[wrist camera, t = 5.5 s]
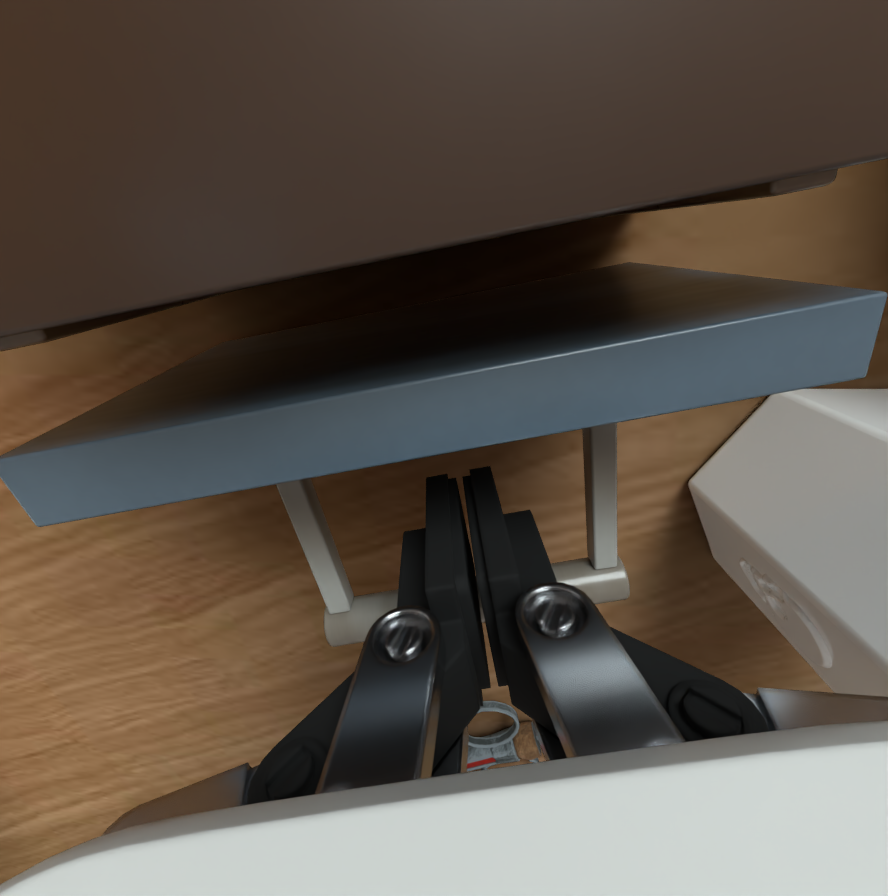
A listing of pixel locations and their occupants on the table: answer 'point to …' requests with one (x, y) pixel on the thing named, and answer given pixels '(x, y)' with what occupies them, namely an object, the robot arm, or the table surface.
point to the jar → (809, 526)
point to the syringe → (503, 742)
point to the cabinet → (390, 129)
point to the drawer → (447, 395)
